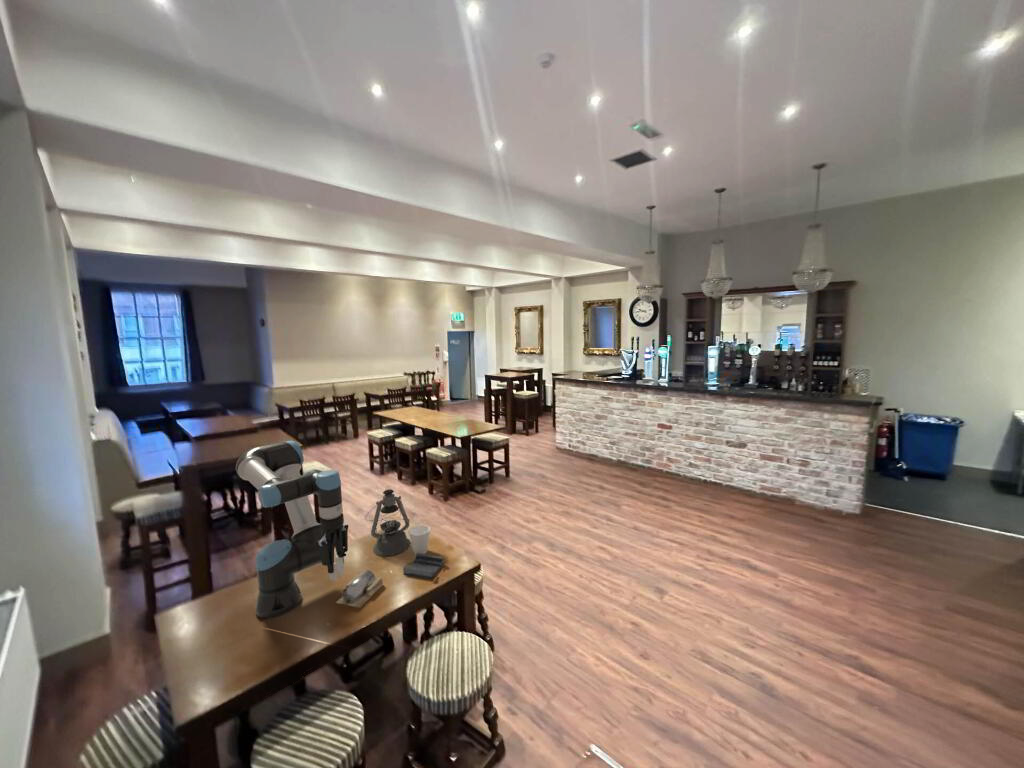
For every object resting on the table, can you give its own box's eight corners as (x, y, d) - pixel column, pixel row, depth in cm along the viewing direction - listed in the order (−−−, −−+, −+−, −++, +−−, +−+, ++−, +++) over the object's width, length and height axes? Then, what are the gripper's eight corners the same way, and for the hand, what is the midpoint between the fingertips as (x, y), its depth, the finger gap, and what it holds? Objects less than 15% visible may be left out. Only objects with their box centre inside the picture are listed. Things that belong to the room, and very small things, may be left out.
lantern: (393, 531, 206) (389, 475, 202) (419, 543, 194) (416, 483, 190) (362, 547, 192) (357, 487, 188) (388, 560, 180) (383, 497, 176)
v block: (403, 575, 169) (403, 567, 169) (417, 560, 180) (417, 553, 179) (431, 580, 165) (431, 572, 165) (444, 564, 176) (443, 557, 176)
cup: (426, 559, 181) (424, 536, 179) (405, 557, 183) (404, 534, 181) (434, 547, 190) (433, 525, 189) (415, 545, 192) (413, 523, 191)
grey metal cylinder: (342, 602, 152) (341, 587, 152) (363, 582, 164) (361, 569, 163) (356, 604, 151) (355, 590, 150) (375, 585, 162) (374, 571, 161)
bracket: (335, 603, 152) (334, 595, 152) (359, 581, 166) (358, 573, 165) (360, 608, 149) (359, 600, 149) (382, 585, 162) (382, 577, 162)
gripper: (323, 527, 133) (329, 592, 136) (355, 506, 148) (360, 565, 152) (305, 524, 135) (311, 588, 138) (338, 504, 150) (343, 562, 154)
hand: (337, 576), depth 145 cm, fingers open, 3 cm apart
